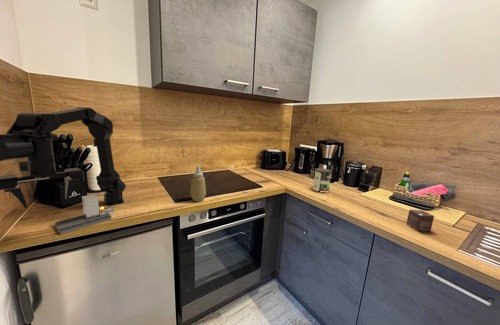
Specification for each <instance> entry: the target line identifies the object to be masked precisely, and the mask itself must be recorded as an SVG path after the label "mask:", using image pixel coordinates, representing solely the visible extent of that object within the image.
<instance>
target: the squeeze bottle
mask: <svg viewBox="0 0 500 325" xmlns="http://www.w3.org/2000/svg"><path fill="white" fill-rule="evenodd" d="M205 179H206V178H205V177H204V173H203V172H201V166H200V165H198V166H196V170H195V172H193V176H192V177H191V182H190V183H191V184H190V193H189V195H190V197H191V200H192V201H193V202H203V201H204V200H205V197H206V195H207V189H206V187H207V186H206V180H205Z"/></svg>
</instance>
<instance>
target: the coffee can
mask: <svg viewBox="0 0 500 325" xmlns="http://www.w3.org/2000/svg"><path fill="white" fill-rule="evenodd" d="M332 172H333V171H332V169H329V168H323V167H319V168H318V167H317V168H314V178H313V185H312V190H313V189H315V190H318V191H329V192H330V184H331V178H332Z"/></svg>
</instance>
